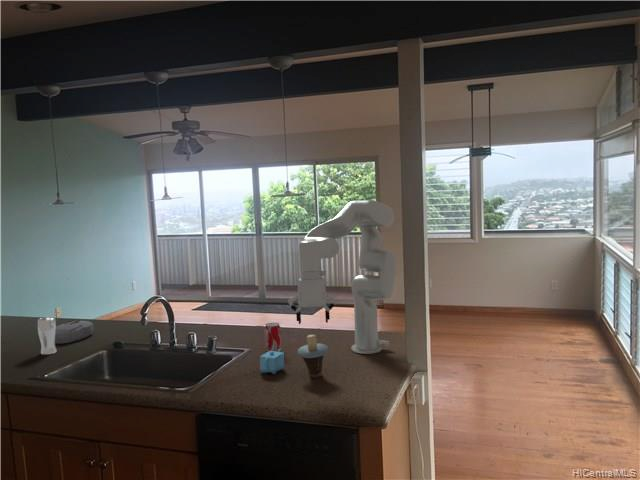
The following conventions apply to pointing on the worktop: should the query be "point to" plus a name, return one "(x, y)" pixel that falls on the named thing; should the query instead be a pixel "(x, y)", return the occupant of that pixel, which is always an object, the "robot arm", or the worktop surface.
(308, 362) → the cup
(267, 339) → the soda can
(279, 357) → the light blue box
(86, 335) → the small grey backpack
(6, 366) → the worktop surface
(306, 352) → the lid
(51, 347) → the beer glass
